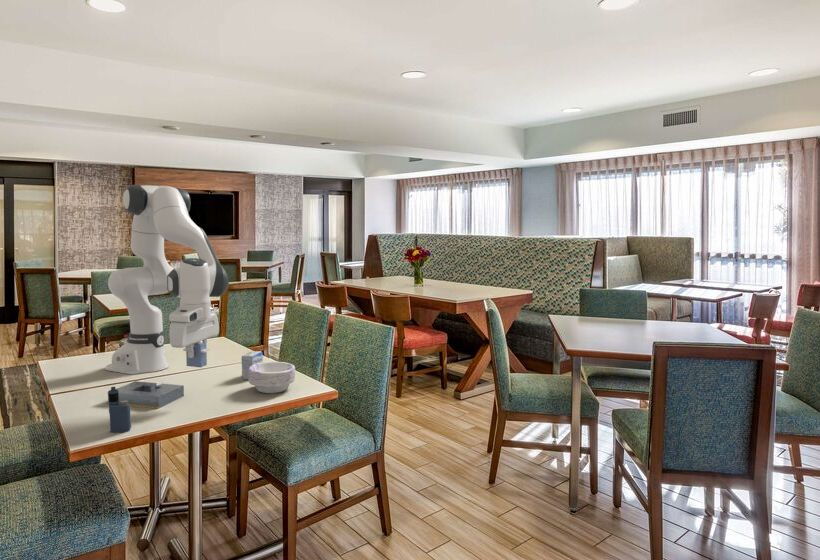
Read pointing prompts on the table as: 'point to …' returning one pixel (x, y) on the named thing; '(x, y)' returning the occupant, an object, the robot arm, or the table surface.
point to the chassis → (149, 394)
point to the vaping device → (118, 412)
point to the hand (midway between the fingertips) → (196, 355)
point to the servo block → (198, 355)
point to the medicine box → (250, 362)
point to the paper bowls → (271, 376)
